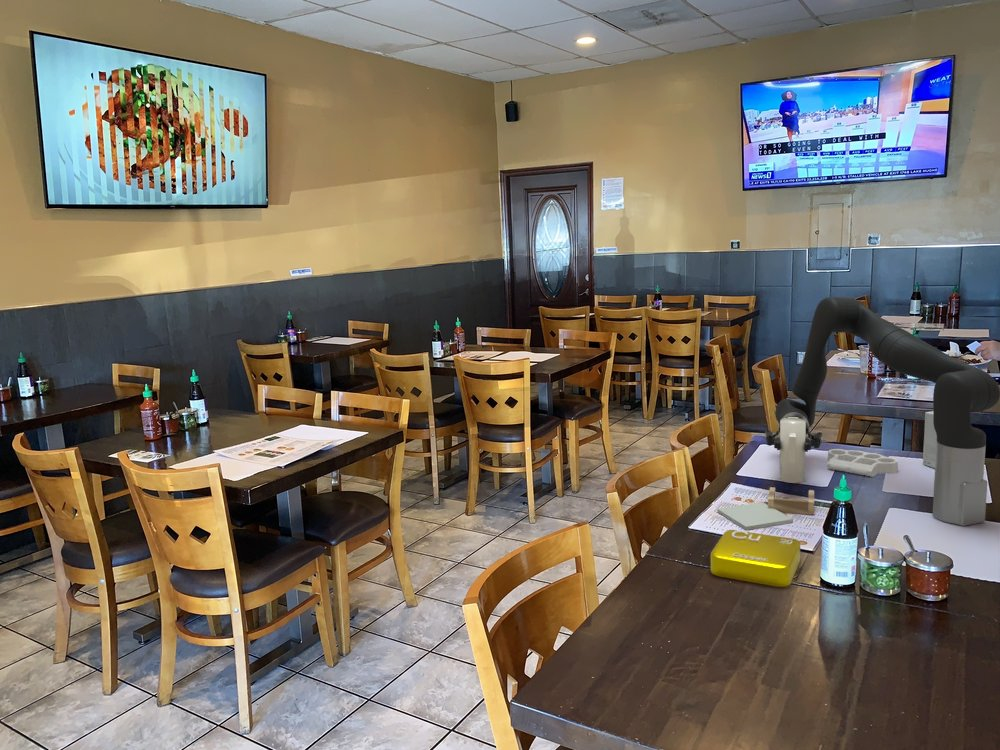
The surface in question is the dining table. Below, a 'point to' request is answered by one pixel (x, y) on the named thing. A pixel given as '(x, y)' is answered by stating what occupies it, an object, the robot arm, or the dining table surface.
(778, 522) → the plate
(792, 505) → the holder
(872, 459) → the knuckle duster
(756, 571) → the element tile
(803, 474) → the jug
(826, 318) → the robot arm
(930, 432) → the skincare box
